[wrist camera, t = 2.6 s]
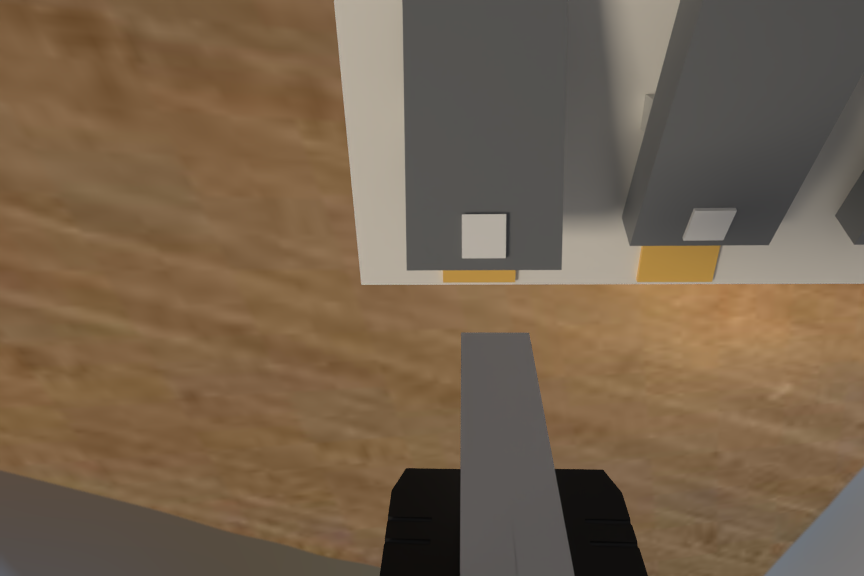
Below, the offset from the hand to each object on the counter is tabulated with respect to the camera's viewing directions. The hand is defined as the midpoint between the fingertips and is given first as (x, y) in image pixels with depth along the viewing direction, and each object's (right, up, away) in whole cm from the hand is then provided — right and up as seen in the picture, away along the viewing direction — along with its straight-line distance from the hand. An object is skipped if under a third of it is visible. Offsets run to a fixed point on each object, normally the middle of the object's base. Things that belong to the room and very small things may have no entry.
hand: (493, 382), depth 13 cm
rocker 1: (0, +7, +5) cm, 9 cm away
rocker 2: (+8, +7, +5) cm, 12 cm away
